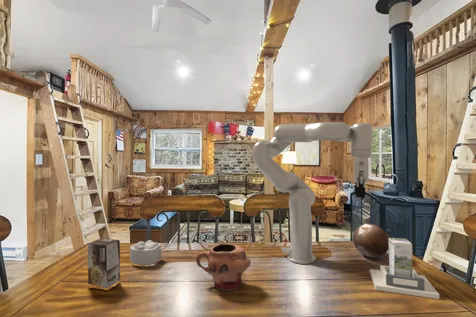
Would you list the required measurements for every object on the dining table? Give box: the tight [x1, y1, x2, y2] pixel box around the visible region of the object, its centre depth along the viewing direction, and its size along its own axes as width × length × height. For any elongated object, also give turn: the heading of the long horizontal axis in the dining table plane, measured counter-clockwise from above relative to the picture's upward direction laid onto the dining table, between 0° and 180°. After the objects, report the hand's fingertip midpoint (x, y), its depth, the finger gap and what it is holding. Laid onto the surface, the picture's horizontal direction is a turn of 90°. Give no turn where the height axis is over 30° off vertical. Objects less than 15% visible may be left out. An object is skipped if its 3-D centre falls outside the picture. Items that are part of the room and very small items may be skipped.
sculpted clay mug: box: [195, 243, 252, 292], centre depth 91 cm, size 20×12×14 cm, turn 88°
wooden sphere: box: [352, 222, 390, 259], centre depth 117 cm, size 15×15×15 cm
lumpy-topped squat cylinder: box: [129, 239, 162, 265], centre depth 113 cm, size 10×13×9 cm
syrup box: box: [388, 237, 413, 277], centre depth 90 cm, size 6×6×14 cm
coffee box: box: [87, 237, 121, 288], centre depth 92 cm, size 9×6×16 cm
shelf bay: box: [369, 264, 440, 300], centre depth 90 cm, size 18×14×5 cm
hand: (359, 195), depth 104 cm, fingers open, 9 cm apart
